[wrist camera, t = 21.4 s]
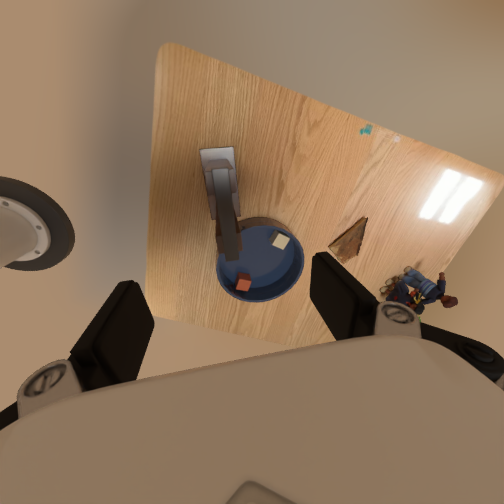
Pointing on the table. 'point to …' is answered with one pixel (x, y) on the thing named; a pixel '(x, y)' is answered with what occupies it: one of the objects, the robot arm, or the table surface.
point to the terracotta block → (243, 281)
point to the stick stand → (209, 160)
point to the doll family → (421, 286)
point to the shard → (350, 242)
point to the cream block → (279, 239)
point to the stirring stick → (225, 212)
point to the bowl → (262, 262)
